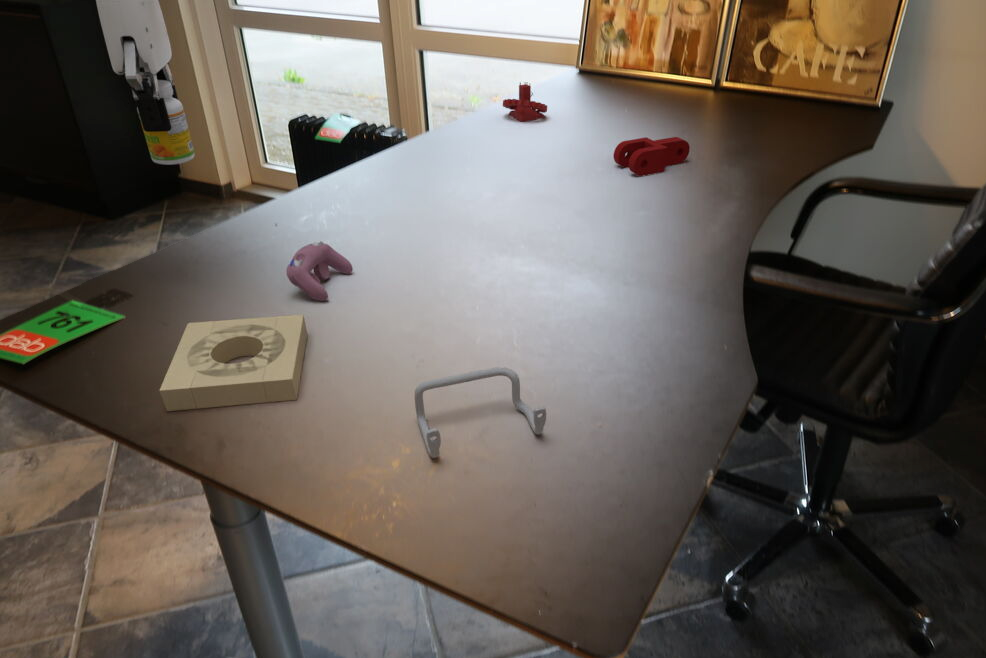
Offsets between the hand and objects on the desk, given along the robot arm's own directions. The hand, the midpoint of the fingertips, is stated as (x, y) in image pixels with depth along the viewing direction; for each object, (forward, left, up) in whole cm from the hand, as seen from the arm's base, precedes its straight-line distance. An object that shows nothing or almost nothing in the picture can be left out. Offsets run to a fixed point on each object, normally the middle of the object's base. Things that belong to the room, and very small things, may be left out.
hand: (163, 122), depth 92 cm
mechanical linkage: (+81, +36, -22) cm, 92 cm away
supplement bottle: (0, 0, -5) cm, 5 cm away
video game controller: (+17, -6, -22) cm, 29 cm away
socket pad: (+9, -26, -22) cm, 36 cm away
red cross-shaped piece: (+60, +73, -22) cm, 97 cm away
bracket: (+36, -42, -22) cm, 60 cm away
